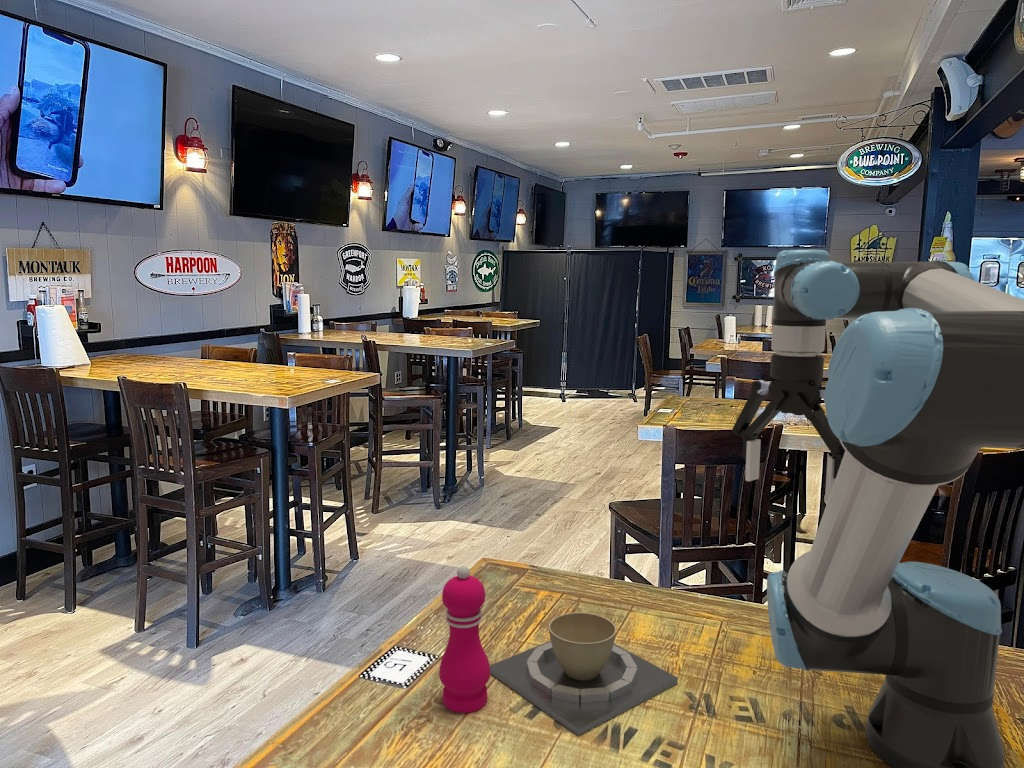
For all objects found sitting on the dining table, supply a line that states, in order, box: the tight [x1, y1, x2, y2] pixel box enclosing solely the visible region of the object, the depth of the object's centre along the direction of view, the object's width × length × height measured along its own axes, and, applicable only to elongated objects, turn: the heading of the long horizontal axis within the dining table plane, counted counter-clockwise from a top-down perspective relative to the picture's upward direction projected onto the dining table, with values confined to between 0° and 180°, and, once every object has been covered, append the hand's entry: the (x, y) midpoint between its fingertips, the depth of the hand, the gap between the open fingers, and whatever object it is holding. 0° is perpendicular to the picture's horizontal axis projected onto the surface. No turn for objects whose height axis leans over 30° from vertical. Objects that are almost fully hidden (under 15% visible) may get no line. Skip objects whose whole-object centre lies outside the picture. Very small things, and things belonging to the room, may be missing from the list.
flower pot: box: [548, 611, 617, 680], centre depth 109 cm, size 10×10×7 cm
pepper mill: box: [438, 565, 491, 714], centre depth 103 cm, size 7×7×20 cm
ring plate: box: [490, 640, 679, 737], centre depth 110 cm, size 20×20×2 cm
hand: (790, 489), depth 114 cm, fingers open, 13 cm apart
